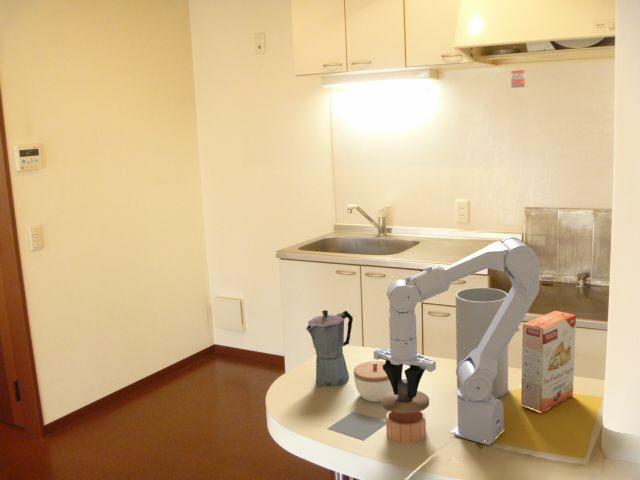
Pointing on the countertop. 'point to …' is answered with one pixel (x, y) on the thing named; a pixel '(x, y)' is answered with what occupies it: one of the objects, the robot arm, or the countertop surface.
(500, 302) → the cylinder vase
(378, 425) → the mat
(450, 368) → the countertop surface
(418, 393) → the lid
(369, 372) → the lidded jar
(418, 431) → the planter
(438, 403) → the countertop surface
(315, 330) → the moka pot
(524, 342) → the cracker box
